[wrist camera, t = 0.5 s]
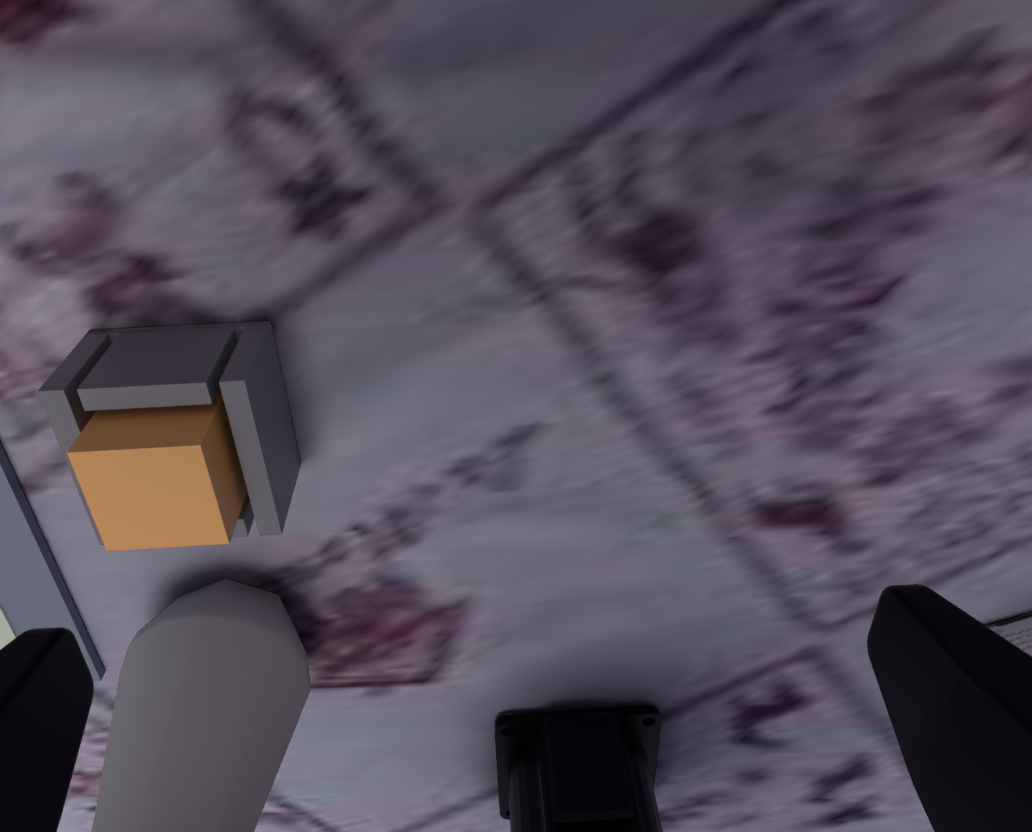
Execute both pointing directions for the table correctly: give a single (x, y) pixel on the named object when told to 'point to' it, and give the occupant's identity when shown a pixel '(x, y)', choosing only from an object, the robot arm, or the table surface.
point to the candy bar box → (1016, 631)
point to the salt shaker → (203, 714)
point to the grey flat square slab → (32, 575)
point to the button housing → (189, 398)
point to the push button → (161, 475)
